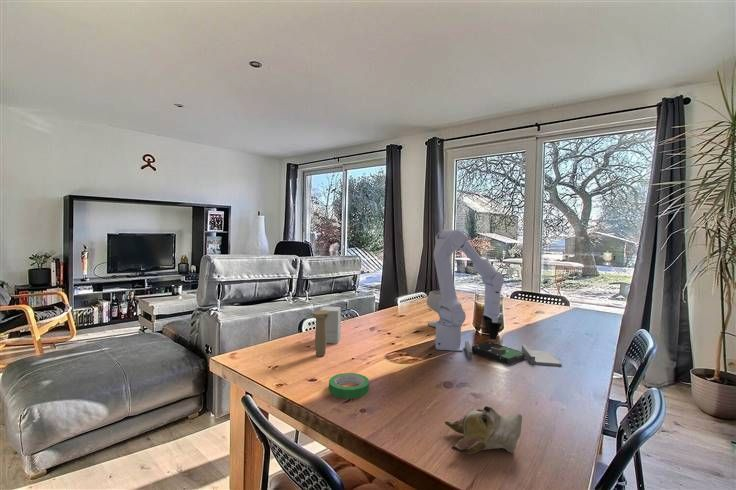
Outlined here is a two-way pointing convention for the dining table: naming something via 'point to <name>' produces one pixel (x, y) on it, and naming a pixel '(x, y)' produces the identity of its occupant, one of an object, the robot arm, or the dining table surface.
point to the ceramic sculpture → (487, 431)
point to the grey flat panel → (528, 356)
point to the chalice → (434, 304)
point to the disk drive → (498, 353)
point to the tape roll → (349, 391)
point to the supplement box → (333, 324)
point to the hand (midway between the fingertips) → (491, 336)
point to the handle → (320, 331)
